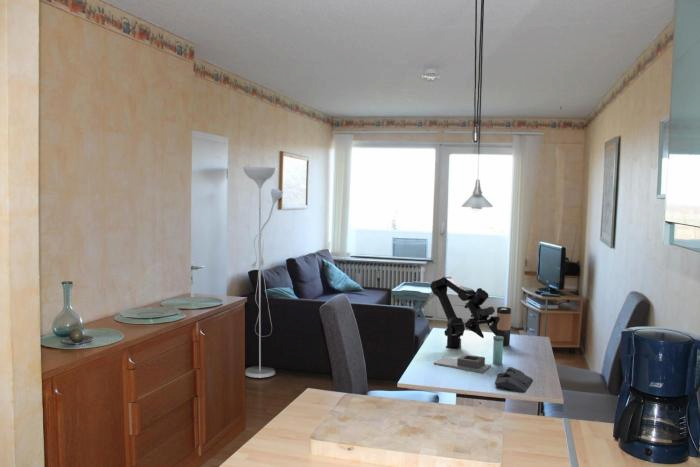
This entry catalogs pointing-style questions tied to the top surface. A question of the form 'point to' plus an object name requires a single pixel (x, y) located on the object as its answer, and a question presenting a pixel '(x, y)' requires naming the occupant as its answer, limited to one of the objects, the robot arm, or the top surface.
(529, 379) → the dark slate chunk
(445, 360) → the holder board
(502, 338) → the teal cylinder
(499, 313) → the travel mug
